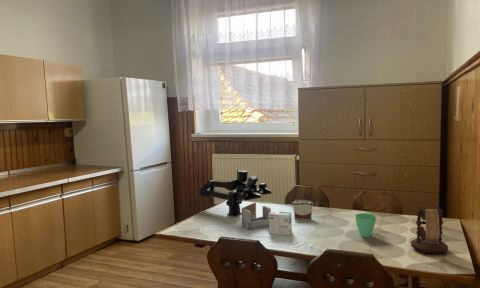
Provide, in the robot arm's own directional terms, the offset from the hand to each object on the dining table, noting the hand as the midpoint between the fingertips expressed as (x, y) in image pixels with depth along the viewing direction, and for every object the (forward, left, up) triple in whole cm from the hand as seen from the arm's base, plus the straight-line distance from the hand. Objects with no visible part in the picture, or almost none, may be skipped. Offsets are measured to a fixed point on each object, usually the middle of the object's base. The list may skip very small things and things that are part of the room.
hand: (266, 194), depth 212 cm
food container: (+11, +20, -16) cm, 28 cm away
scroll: (+82, +12, -16) cm, 84 cm away
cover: (-6, -8, -16) cm, 19 cm away
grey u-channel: (+1, -9, -16) cm, 18 cm away
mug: (+52, +15, -16) cm, 56 cm away
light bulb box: (+17, -10, -16) cm, 25 cm away
